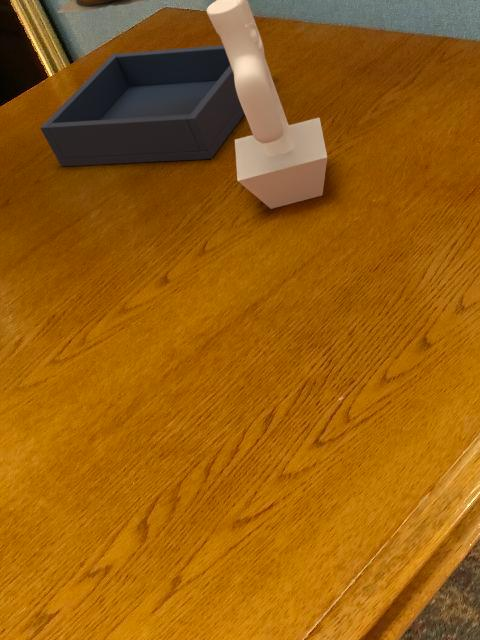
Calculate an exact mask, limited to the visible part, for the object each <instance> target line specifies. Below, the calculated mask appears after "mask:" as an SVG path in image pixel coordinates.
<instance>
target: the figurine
mask: <svg viewBox="0 0 480 640" xmlns="http://www.w3.org/2000/svg"><path fill="white" fill-rule="evenodd" d="M206 14H207V16H208V18H209V20H210V22H211V24H212V26H213V29H215V30H214V31H215V32H216V34H217V35H218V36H219V38H220V41H221V44H222V45H223V46H224V48H225V51H226V54H227V56H228V59H229V62H230V65H231V68H232V70H233V73H234V81H235V88H236V92H237V95H238V98H239V101H240V103H241V106H242V108H243V111H244V113H245V114H244V116H245V118H246V120H247V123H248V126H249V129H250V131H251V135H247V136H243V137H240V138H239V137H238V138H235V139H234V150H235V165H236V181H237V182H238V183H239V184H241V186H243V188H245V189H246V190H247V191H249V192H250V193H251V194H252V195H254V196H255V197H256V198H257V199H259V201H261V202H262V203H263V204H264V205H265V206H267V207H268V208H269V209H270V210H272V209H276V208H280V207H284V206H287V205H291V204H295V203H298V202H304V201H307V200H310V199H314V198H318V197H321V196H323V195H324V194H323V192H324V187H325V186H324V185H325V179H326V170H327V163H328V154H327V150H326V149H327V148H326V143H325V138H324V133H323V129H322V124H321V117H316V118H315V117H314V118H311V119H308V120H304V121H300V122H296V123H293V124H289V122H288V119H287V117H286V114H285V113H286V112H285V111H284V108H283V105H282V101H281V99H280V97H279V94H278V92H277V88H276V85H275V81H274V80H273V77H272V74H271V71H270V68H269V65H268V62H267V59H266V56H265V48H264V43H263V40H262V37H261V34H260V31H259V28H258V26H257V23H256V21H255V18H254V15H253V12H252V9H251V6H250V4H249V1H248V0H215V1H213V2H212V3H210V5H209V6H208V7H207V8H206Z"/></svg>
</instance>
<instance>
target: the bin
mask: <svg viewBox="0 0 480 640" xmlns="http://www.w3.org/2000/svg"><path fill="white" fill-rule="evenodd" d="M244 116H245V113H244V111H243V108H242V106H241V103H240V101H239V98H238V95H237V92H236V88H235V81H234V73H233V70H232V68H231V65H230V62H229V59H228V56H227V54H226V51H225V48H224V46H223V44H222V45H209V46H208V45H207V46H197V47H184V48H171V49H158V50H146V51H134V52H133V51H132V52H121V53H111V54H110V56H109V57H108V58H106V60H105V61H104V62H103V63H102V64H101V65H100V66H99V67H98V68H97V69H96V70H95V71H94V72H93V73H92V74H91V75H90V76H89V77H88V78H87V79H85V81H84V83H82V84H81V85H80V86H79V87H78V89H77V90H75V92H74V93H72V94H71V96H69V97H68V98H67V100H66V101H65V102H64V103H63V104H62V105H61V106H60V107H59V108H58V109H57V110H56V111H55V112H54V113H53V114H52V115H51V116H50V117H49V118H47V120H46V121H45V122H44V123H43V124H42V125H41V126H40V127H39V128H40V130H41V132H42V134H43V136H44V138H45V139H46V141H47V143H48V145H49V147H50V149H51V150H52V152H53V154H54V156H55V158H56V159H57V161H58V163H59V165H60V167H79V166H99V165H100V166H101V165H117V164H139V163H140V164H141V163H155V162H156V163H159V162H176V161H178V162H179V161H196V160H197V161H198V160H212V159H213V157H214V156H215V155H216V154H217V152H218V151H219V150H220V148H221V147H222V145H223V144H224V143H225V142H226V140H227V138H228V137H229V136H230V135H231V133H232V132H233V131H234V129H235V128H236V126H237V125H238V124H239V122H240V121H241V119H243V117H244Z"/></svg>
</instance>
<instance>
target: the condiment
mask: <svg viewBox="0 0 480 640" xmlns="http://www.w3.org/2000/svg"><path fill="white" fill-rule="evenodd" d="M148 1H149V0H69V1H68V2H67V3H66V4H63V6H62V7H61V8H60V9H59V10H58V11H57V14H61V13H76V12H82V11H83V12H84V11H91V10H98V9H102V8H104V9H105V8H106V7H109V6H114V7H116V6H117V7H118V6H124V5H131V4H134V3H138V2H140V3H141V2H148Z"/></svg>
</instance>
